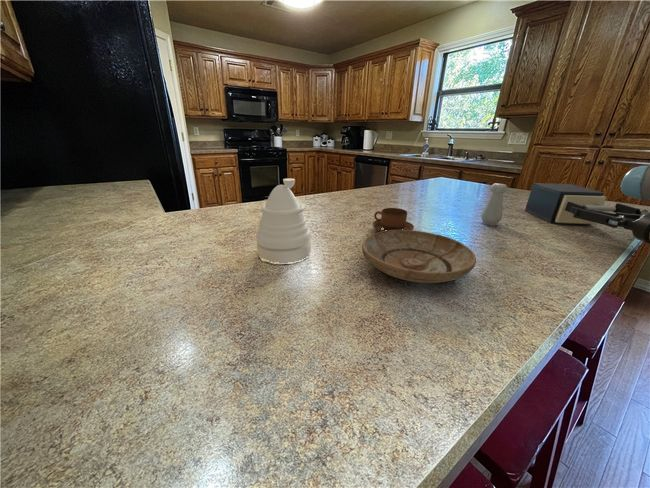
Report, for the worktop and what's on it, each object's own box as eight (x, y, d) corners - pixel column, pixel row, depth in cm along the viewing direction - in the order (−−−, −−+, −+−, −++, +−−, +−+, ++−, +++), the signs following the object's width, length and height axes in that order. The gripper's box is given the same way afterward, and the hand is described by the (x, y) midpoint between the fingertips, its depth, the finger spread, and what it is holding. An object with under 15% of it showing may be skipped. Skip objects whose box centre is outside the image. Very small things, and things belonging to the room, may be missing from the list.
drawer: (612, 230, 80) (625, 202, 77) (571, 229, 81) (582, 200, 78) (565, 212, 98) (574, 188, 95) (532, 210, 99) (539, 187, 96)
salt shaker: (503, 226, 85) (515, 186, 80) (485, 226, 85) (496, 185, 80) (493, 221, 91) (503, 182, 86) (476, 220, 91) (485, 182, 86)
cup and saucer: (370, 236, 77) (372, 215, 74) (373, 223, 88) (375, 204, 85) (414, 240, 74) (417, 219, 72) (411, 226, 85) (414, 207, 83)
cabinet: (590, 224, 88) (604, 192, 84) (549, 222, 89) (561, 191, 85) (559, 212, 102) (570, 184, 97) (524, 210, 103) (533, 183, 99)
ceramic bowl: (498, 282, 54) (504, 260, 52) (401, 308, 46) (405, 283, 44) (420, 241, 74) (423, 223, 72) (343, 253, 66) (344, 234, 64)
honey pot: (317, 246, 70) (317, 176, 63) (300, 268, 59) (297, 186, 52) (272, 240, 73) (267, 173, 66) (247, 260, 62) (238, 182, 55)
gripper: (600, 243, 64) (543, 217, 84) (717, 248, 62) (630, 220, 82) (614, 213, 61) (551, 193, 81) (736, 217, 59) (642, 195, 79)
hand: (591, 206), depth 81 cm, fingers open, 13 cm apart
